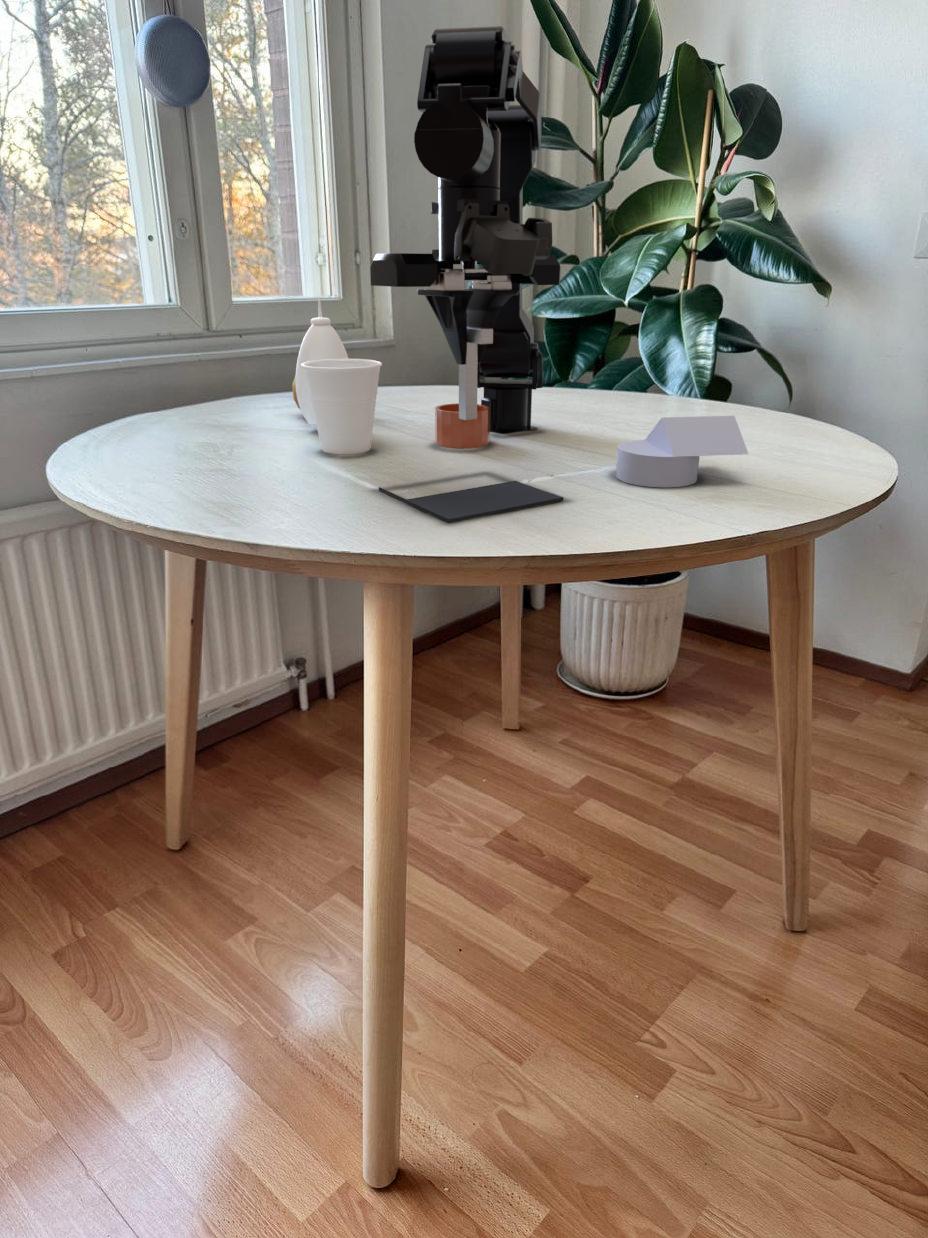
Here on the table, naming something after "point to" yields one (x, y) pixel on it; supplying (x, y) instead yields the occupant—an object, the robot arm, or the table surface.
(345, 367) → the cup
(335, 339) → the sauce bottle
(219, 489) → the table surface
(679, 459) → the wedge on round base
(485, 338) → the hex key
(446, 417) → the pencil pot
